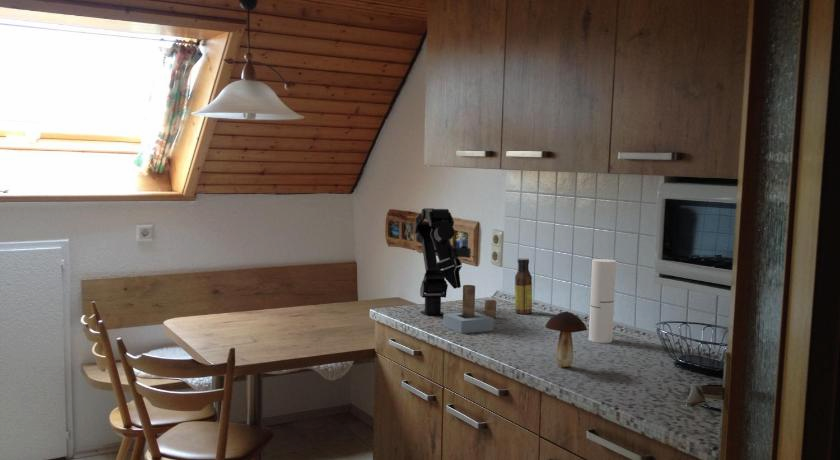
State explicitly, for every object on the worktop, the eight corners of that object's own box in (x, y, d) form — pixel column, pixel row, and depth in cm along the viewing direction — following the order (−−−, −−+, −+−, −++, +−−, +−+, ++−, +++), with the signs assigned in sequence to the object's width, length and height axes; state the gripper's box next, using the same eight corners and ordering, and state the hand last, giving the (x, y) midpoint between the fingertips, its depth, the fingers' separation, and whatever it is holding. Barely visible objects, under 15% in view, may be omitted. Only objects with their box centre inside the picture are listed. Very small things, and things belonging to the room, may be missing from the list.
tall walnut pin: (459, 327, 250) (460, 285, 249) (470, 326, 252) (471, 284, 251) (465, 329, 247) (466, 287, 245) (476, 328, 248) (477, 286, 247)
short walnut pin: (482, 316, 268) (482, 300, 267) (491, 316, 270) (492, 299, 269) (488, 319, 264) (488, 302, 264) (497, 318, 266) (498, 301, 266)
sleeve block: (443, 325, 252) (443, 313, 251) (474, 323, 257) (474, 311, 257) (461, 333, 241) (461, 321, 241) (493, 330, 247) (493, 318, 246)
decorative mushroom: (567, 360, 211) (569, 306, 210) (594, 369, 202) (596, 314, 200) (535, 364, 206) (537, 309, 205) (561, 374, 196) (563, 317, 195)
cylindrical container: (612, 343, 232) (616, 262, 230) (588, 342, 233) (592, 261, 231) (611, 338, 239) (615, 259, 237) (588, 336, 240) (591, 258, 238)
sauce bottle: (531, 311, 280) (533, 257, 278) (532, 314, 274) (534, 260, 272) (513, 310, 280) (515, 257, 279) (514, 314, 274) (515, 259, 272)
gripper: (461, 235, 249) (477, 280, 247) (468, 237, 267) (482, 279, 266) (429, 246, 251) (445, 291, 249) (438, 248, 269) (453, 290, 267)
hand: (457, 287), depth 258 cm, fingers open, 9 cm apart
